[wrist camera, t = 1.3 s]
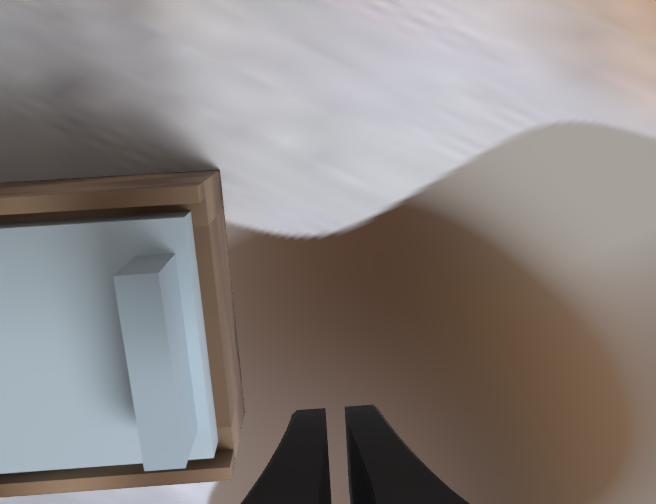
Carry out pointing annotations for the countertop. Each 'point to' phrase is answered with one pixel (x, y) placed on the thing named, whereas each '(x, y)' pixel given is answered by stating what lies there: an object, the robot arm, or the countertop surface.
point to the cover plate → (103, 345)
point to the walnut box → (216, 295)
